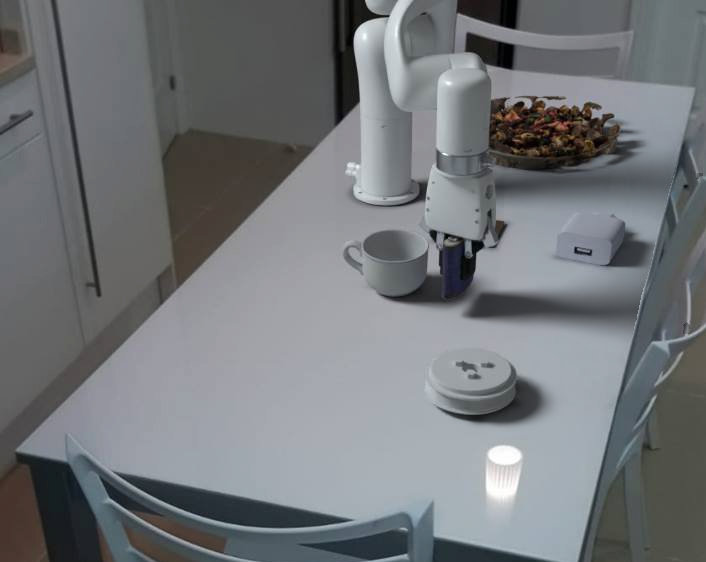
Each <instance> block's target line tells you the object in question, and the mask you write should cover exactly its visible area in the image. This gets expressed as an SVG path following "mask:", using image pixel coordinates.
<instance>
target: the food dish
mask: <svg viewBox="0 0 706 562" xmlns="http://www.w3.org/2000/svg"><path fill="white" fill-rule="evenodd" d="M514 98H515V99H518V98H519V99H520V98H523V99H529V100H530V101H531V106H530V107H529V108H528V106H525V105H526V103H525V101H523V100H519V101H517V102H516V103H514V104H512V105H508V106H507V107H506V102H507V100H510V99H511V97H506V96H504V97H498V98H491V108H490V125H489V143H488V149H489V156H490V157H491V158H495V159H496V163H495V165H498V166H501V167H506V168H511V167H512V168H517V169H520V170H521V169H522V170H539V169H544V168H545V169H547V168H548V169H552V168H553V169H554V168H558V167H573V166H575V165H579V164H581V163H587V162H589V161H590V160H591V159H592V158H597V157H598V156H600V155H602V154H605V155H610V154H614V153H615V152H616V148H617V145H618V139H619V136H620V133H621V124H619V123H614V124H613V125H612V126H611V127H610V128H609V130H608V133H607V132H606V131H605V128H604V127H605V124H606V122H607V121H608V120H610V119H614V118H615V114H614V113H612V112H610V113H609V112H608V113H603V114H602V115H601V118H600V117H598V116H597V117H596V116H595V117H593V112H592V110H596V111H600V110H602V109H603V106H602V105H600V104H598V103H595V102H592V101H586V102H585V103H584V104H583V106H582V109H581V110H580V107H578V106H576V104H574V105H572V107H571V108H569V106H568V105H566V104H562V106H560V107H556V106H554V105H553V106H552V105H551V106H548V107H547V108H546V106H547V104H546V102H545V101H544V100H543V99H546V100H547V101H552V100H555V101H562V100H567V96H563V95H561V96H559V95H544V96H537V95H518V96H514ZM539 99H541V100H539ZM545 108H546V109H545ZM592 117H593V118H592Z"/></svg>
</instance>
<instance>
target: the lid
mask: <svg viewBox="0 0 706 562" xmlns="http://www.w3.org/2000/svg"><path fill="white" fill-rule="evenodd" d="M424 379H425V382H424V388H423V389H424V394H425V396H426V398H427V399H428V400H429V401H430V402H431V403H432V404H433V405H434V406H436V407H438V408H440V409H442V410H445V411H447V412H451V413H454V414H460V415H469V416H470V415H471V416H474V415H484V414H489V413H494V412H497V411H500V410H502V409H503V408H505V407H507V406H508V405H509V404H510V403H512V401H513V400H514V399H515V396H516V390H517V389H516V385H515V384H517V379H518V373H517V369H516V368H515V366H514V365H513V364H512V362H511V361H509V360H508V359H506V358H505V357H503V356H502V355H501V354H499V353H496V352H495V351H491V350H488V349H483V348H479V347H478V348H477V347H461V348H454V349H451V350H447V351H445V352H443V353H440V354H439V355H436V356H435V357H434V358H432V359H431V360H430V361H429V362H428V363H427V365H426V366H425V369H424Z"/></svg>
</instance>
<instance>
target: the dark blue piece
mask: <svg viewBox="0 0 706 562" xmlns="http://www.w3.org/2000/svg"><path fill="white" fill-rule="evenodd" d="M464 255H465V251H464V238H462V237H458V236H455V235H453V236H451V237H448V239H446V240H445V241H444V242H443V271H442V275H441V276H442V281H441V282H442V289H441V297H442V299H443V300H448V301H449V300H450V301H453V300H455V299H457V298H459V297H460V296H461V295H463V293H465V292H466V290H468V288H469V287H470V285H471V284H472V282H473V280H474V276H475V273H474V274H473V275H472V276H470V277H469V278H468V279H467V280H466V281H462V280H461V279H460V273H461V258H462V256H464Z"/></svg>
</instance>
